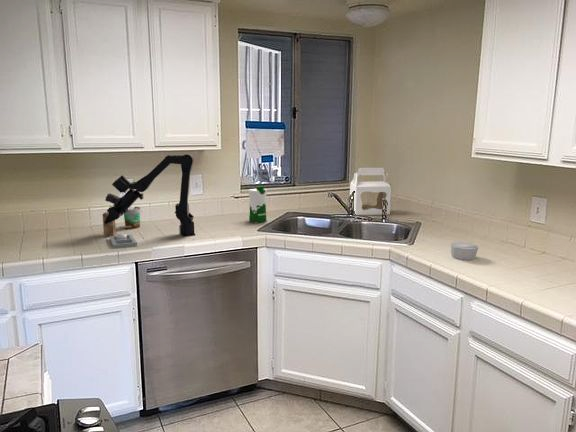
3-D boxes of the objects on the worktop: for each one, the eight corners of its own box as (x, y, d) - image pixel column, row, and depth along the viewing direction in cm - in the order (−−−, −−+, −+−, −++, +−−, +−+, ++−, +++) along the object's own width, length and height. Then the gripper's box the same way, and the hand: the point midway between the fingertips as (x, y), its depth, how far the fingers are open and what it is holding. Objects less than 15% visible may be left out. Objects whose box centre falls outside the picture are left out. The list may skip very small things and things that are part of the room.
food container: (135, 230, 250) (134, 210, 248) (124, 229, 251) (122, 210, 250) (146, 225, 262) (145, 206, 260) (136, 224, 263) (135, 206, 261)
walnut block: (115, 234, 241) (114, 212, 239) (113, 236, 237) (112, 214, 234) (106, 234, 241) (105, 212, 238) (103, 236, 236) (102, 214, 234)
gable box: (382, 210, 311) (384, 166, 306) (390, 214, 298) (392, 168, 293) (348, 211, 307) (350, 166, 302) (355, 215, 295) (356, 168, 289)
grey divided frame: (131, 237, 234) (131, 231, 234) (137, 246, 219) (136, 239, 218) (109, 239, 230) (109, 233, 230) (113, 248, 215) (113, 241, 214)
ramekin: (471, 262, 197) (472, 250, 196) (444, 257, 205) (445, 245, 204) (481, 257, 206) (482, 245, 205) (455, 252, 213) (456, 240, 212)
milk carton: (256, 223, 269) (256, 187, 265) (246, 220, 275) (246, 185, 272) (268, 221, 275) (268, 186, 271) (258, 218, 281) (258, 184, 277)
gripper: (120, 185, 244) (98, 207, 245) (110, 190, 225) (87, 214, 226) (137, 200, 246) (116, 222, 247) (128, 207, 227) (105, 230, 229)
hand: (106, 222), depth 237 cm, fingers closed on walnut block, 4 cm apart
